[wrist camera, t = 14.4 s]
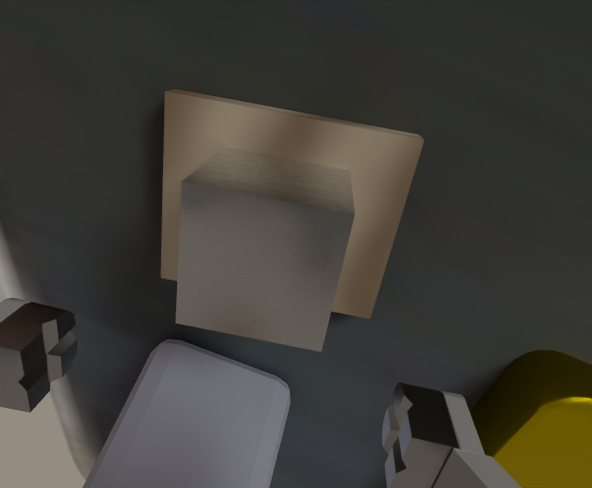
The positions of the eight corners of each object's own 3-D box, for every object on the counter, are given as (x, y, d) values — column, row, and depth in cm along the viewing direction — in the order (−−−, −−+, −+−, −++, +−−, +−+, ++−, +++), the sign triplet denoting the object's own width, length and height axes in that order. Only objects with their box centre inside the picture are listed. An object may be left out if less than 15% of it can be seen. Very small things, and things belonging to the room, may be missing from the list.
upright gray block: (350, 170, 19) (354, 214, 13) (325, 278, 21) (321, 351, 16) (226, 146, 19) (181, 181, 14) (216, 257, 22) (175, 323, 16)
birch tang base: (418, 134, 19) (445, 160, 14) (368, 304, 24) (376, 369, 19) (176, 89, 20) (121, 98, 15) (170, 265, 24) (126, 319, 19)
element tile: (734, 420, 25) (817, 495, 21) (575, 541, 31) (613, 618, 27) (527, 334, 24) (569, 395, 20) (405, 478, 30) (416, 548, 26)
